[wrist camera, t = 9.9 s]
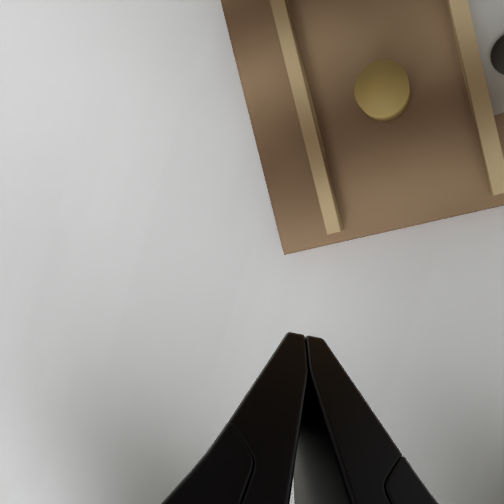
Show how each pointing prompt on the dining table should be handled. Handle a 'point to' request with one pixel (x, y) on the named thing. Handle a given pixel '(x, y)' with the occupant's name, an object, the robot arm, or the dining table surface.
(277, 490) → the robot arm
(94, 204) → the dining table surface
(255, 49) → the trammel board
